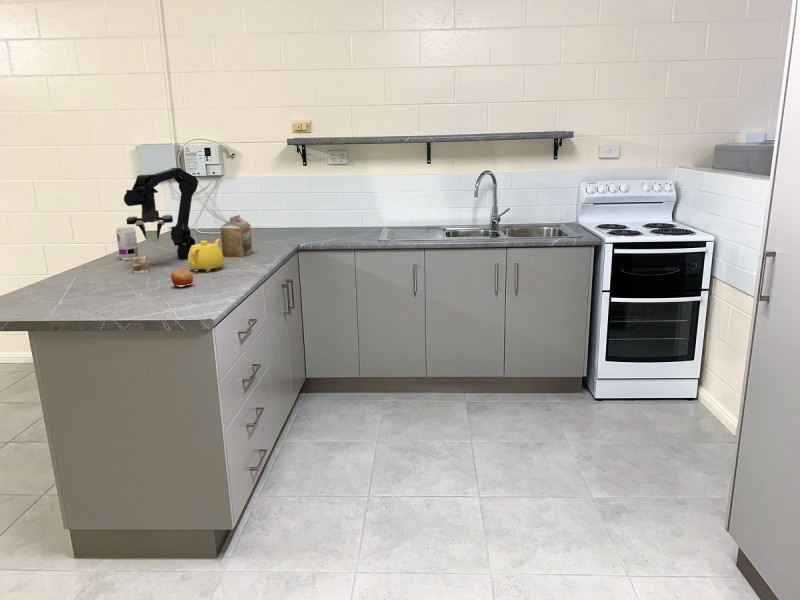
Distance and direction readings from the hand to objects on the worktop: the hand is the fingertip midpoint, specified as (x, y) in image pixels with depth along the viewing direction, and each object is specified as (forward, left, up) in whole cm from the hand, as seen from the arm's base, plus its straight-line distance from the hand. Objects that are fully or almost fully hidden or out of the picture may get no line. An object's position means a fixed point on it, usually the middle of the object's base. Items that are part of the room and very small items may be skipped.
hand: (152, 239), depth 273 cm
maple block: (+5, +11, -9) cm, 15 cm away
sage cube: (0, 0, -1) cm, 1 cm away
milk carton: (-37, -13, -13) cm, 41 cm away
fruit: (-13, +46, -13) cm, 50 cm away
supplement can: (+13, -22, -12) cm, 28 cm away
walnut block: (+5, +11, -13) cm, 17 cm away
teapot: (-23, +16, -13) cm, 31 cm away
